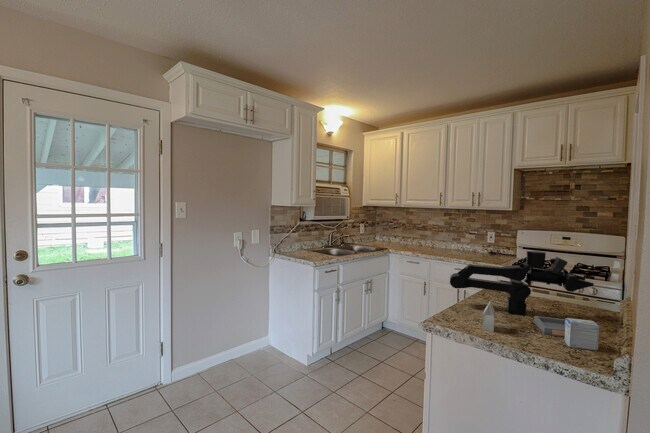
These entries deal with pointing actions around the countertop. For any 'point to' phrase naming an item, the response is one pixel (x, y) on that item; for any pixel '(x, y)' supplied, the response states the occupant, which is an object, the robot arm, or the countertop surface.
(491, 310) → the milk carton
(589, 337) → the medicine box
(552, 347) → the countertop surface
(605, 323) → the countertop surface
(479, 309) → the countertop surface
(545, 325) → the tray
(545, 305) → the countertop surface
